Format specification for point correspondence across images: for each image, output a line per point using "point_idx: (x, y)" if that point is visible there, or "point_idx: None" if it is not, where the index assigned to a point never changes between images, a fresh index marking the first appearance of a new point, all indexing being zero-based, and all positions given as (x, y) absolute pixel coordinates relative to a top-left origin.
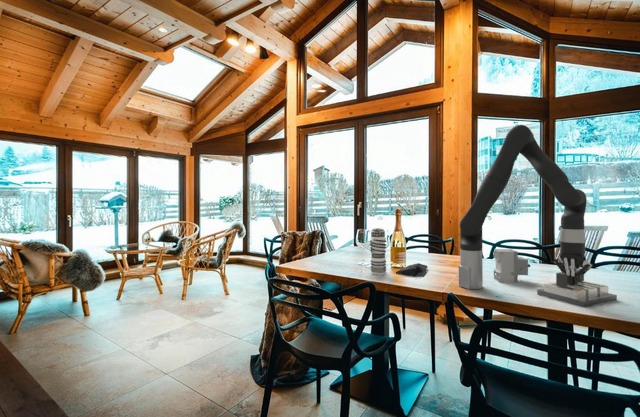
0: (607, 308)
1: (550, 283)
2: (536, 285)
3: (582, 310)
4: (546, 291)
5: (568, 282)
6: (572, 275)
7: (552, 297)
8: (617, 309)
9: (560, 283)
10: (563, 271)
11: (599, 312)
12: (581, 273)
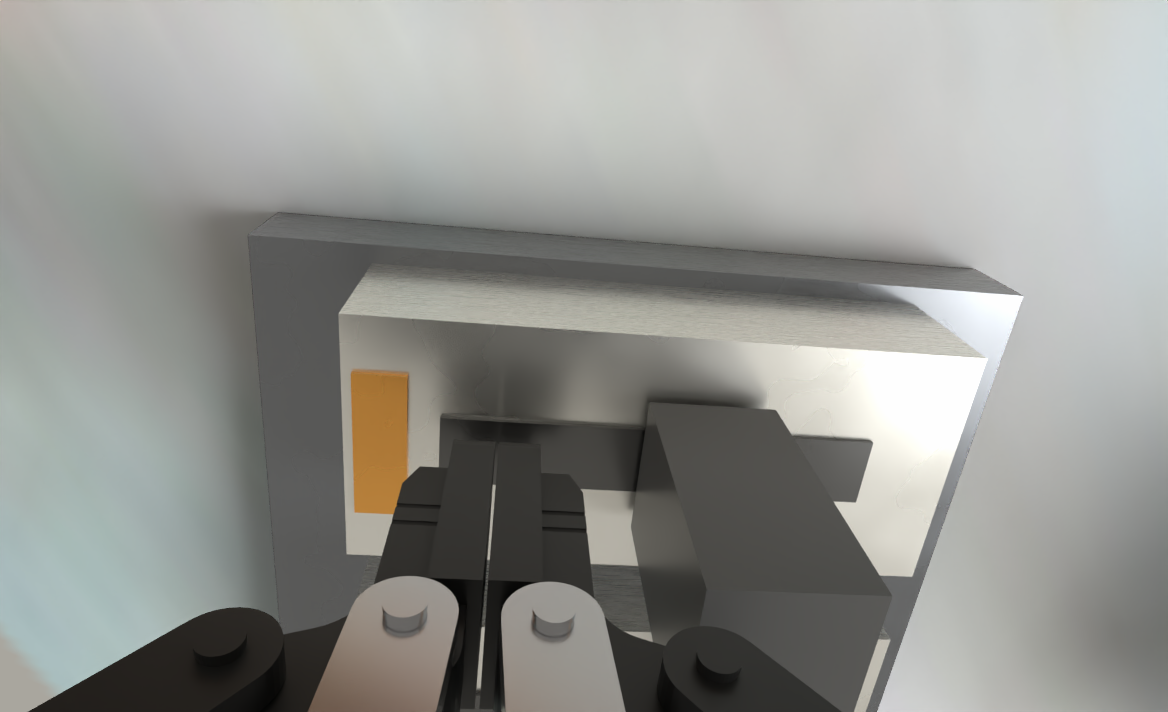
0: (130, 434)
1: (915, 490)
2: (1124, 667)
3: (171, 13)
4: (877, 305)
5: (554, 485)
6: (409, 585)
7: (746, 255)
8: (62, 493)
9: (706, 437)
10: (698, 653)
11: (19, 148)
12: (77, 688)
